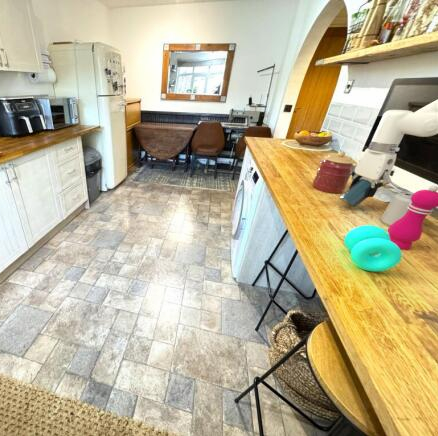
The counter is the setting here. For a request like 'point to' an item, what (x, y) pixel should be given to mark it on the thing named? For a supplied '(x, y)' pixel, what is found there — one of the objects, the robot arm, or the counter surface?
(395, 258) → the donuts
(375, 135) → the robot arm
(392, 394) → the counter surface
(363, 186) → the cup
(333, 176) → the kitchen canister
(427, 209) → the pepper mill
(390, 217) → the can
